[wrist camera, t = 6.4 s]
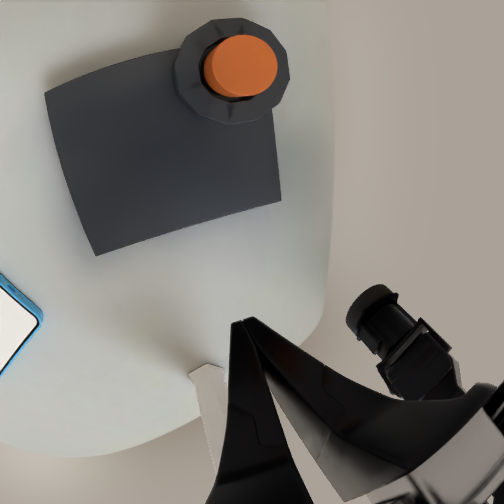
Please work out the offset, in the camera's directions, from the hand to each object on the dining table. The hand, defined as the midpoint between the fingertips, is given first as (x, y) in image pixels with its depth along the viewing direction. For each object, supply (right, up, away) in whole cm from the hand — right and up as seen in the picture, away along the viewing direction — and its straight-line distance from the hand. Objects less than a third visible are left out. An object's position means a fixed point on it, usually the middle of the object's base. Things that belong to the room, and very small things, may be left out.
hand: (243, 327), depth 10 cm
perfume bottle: (-5, -10, +18) cm, 21 cm away
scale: (-5, +9, +6) cm, 12 cm away
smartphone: (-24, -4, +6) cm, 25 cm away
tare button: (-1, +12, +3) cm, 12 cm away
